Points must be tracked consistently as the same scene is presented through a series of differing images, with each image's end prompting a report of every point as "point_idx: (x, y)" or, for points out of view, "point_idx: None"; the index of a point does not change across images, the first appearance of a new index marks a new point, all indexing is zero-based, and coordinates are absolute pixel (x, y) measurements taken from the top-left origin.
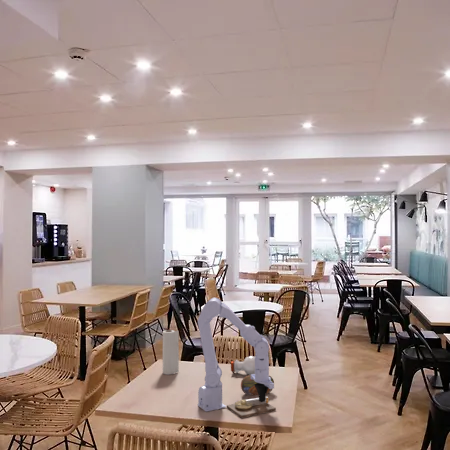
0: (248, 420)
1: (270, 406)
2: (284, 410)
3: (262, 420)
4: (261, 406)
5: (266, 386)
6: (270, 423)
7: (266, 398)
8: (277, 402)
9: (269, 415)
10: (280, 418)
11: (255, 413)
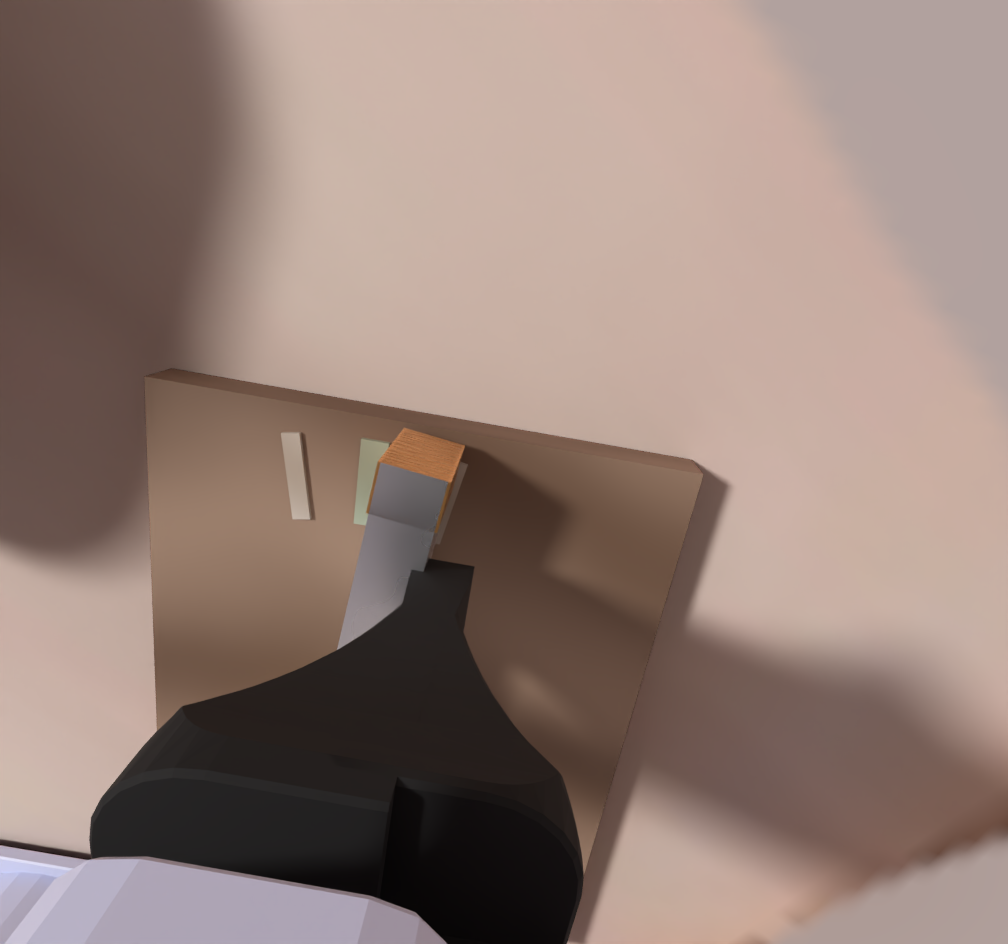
0: (657, 918)
1: (585, 498)
2: (805, 334)
3: (786, 822)
4: (482, 609)
5: (552, 938)
6: (930, 815)
7: (439, 520)
8: (424, 127)
9: (748, 661)
10: (951, 622)
11: (602, 800)
